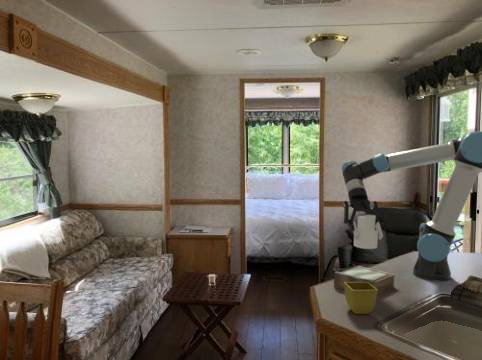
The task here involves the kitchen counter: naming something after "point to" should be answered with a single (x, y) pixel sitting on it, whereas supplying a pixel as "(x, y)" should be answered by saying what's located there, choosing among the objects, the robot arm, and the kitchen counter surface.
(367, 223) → the cylinder with rectangular tab
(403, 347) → the kitchen counter surface
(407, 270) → the kitchen counter surface
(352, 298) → the flower pot
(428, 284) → the kitchen counter surface
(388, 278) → the dock
